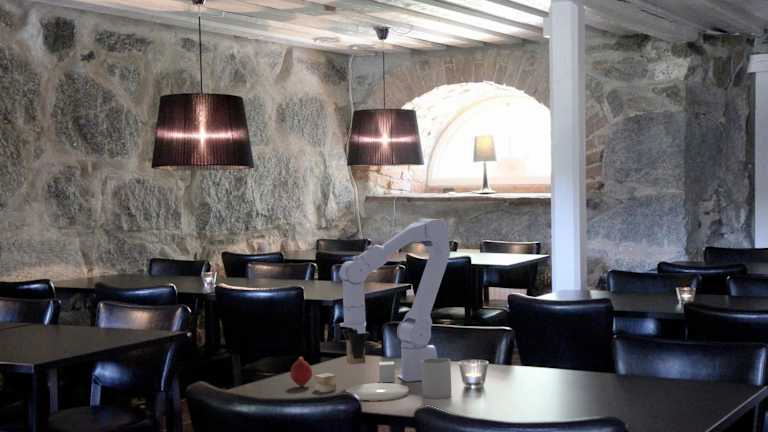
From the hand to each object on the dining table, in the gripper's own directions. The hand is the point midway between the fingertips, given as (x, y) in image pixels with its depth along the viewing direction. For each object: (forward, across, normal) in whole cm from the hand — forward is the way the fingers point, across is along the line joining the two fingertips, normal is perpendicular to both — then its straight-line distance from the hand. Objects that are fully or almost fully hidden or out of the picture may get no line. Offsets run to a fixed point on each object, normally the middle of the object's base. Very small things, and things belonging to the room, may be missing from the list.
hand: (356, 357), depth 262 cm
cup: (+8, +21, +16) cm, 28 cm away
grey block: (+8, -2, +9) cm, 12 cm away
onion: (+8, -5, -14) cm, 17 cm away
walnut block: (+2, 0, 0) cm, 2 cm away
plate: (+8, +13, +2) cm, 15 cm away
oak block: (+8, +2, -9) cm, 12 cm away
